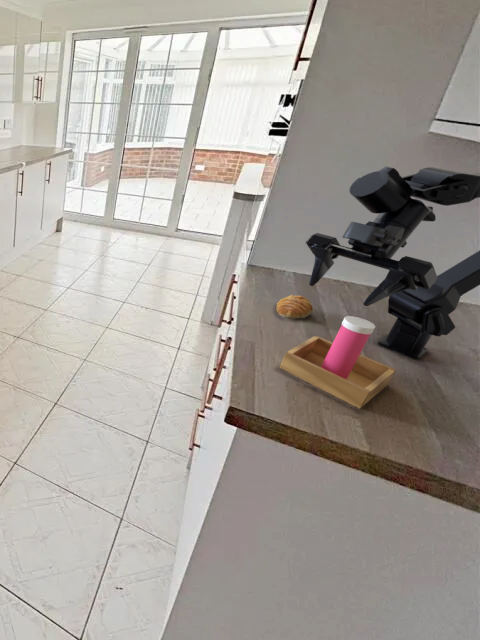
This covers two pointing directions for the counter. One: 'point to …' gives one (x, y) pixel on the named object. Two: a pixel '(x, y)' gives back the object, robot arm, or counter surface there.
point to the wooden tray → (354, 390)
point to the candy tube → (348, 345)
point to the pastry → (294, 307)
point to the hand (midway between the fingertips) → (336, 294)
